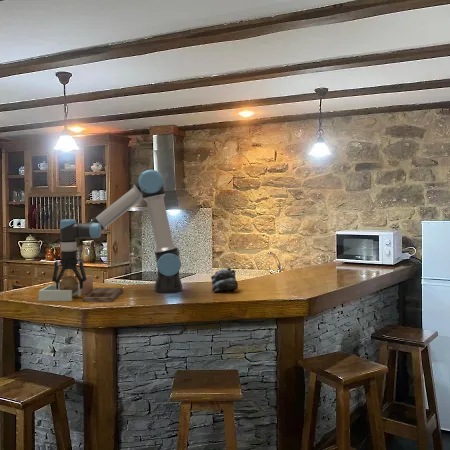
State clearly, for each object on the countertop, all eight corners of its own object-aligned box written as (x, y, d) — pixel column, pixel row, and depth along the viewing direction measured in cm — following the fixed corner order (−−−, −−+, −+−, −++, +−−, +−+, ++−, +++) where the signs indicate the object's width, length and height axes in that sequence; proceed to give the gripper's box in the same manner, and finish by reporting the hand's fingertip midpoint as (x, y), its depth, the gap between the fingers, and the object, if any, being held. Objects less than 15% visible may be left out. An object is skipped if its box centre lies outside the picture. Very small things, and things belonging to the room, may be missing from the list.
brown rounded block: (94, 291, 253) (94, 275, 253) (91, 294, 247) (91, 276, 246) (82, 291, 253) (82, 275, 253) (78, 294, 247) (78, 276, 246)
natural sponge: (82, 294, 242) (81, 274, 241) (75, 297, 233) (74, 277, 232) (65, 294, 243) (64, 274, 242) (57, 297, 234) (56, 277, 233)
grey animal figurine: (208, 292, 251) (205, 268, 257) (217, 297, 262) (214, 274, 267) (234, 286, 247) (230, 261, 253) (242, 291, 257) (238, 267, 263)
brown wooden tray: (122, 291, 254) (122, 287, 254) (112, 301, 228) (112, 297, 228) (96, 291, 254) (96, 287, 254) (82, 301, 228) (82, 297, 228)
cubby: (80, 294, 246) (80, 284, 246) (71, 301, 230) (71, 290, 230) (50, 294, 246) (50, 284, 245) (38, 301, 230) (38, 290, 229)
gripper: (92, 249, 241) (93, 293, 242) (49, 249, 240) (50, 294, 241) (88, 251, 233) (89, 296, 234) (43, 251, 233) (45, 297, 234)
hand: (69, 295), depth 238 cm, fingers closed on natural sponge, 9 cm apart
